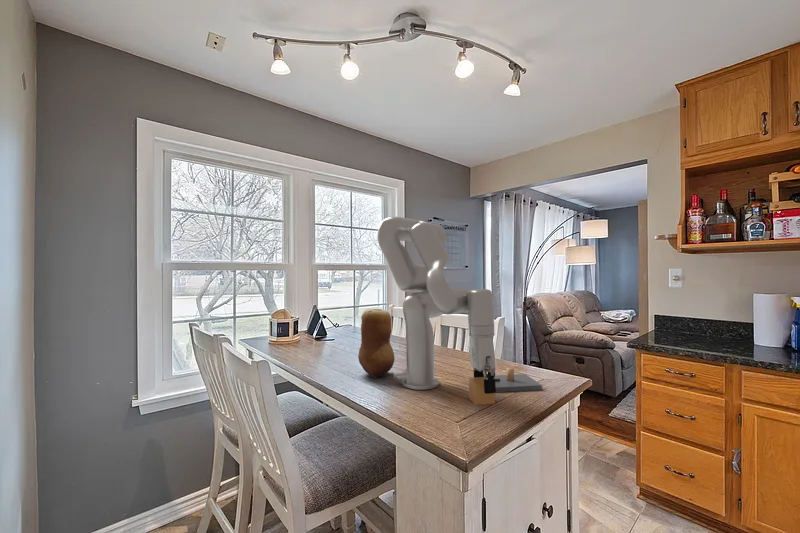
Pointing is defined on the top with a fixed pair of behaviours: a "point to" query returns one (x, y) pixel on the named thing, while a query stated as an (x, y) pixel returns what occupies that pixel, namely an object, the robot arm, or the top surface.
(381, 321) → the butternut squash
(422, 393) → the top surface
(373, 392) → the top surface
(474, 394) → the tan wooden cube
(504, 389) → the plate
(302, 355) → the top surface
